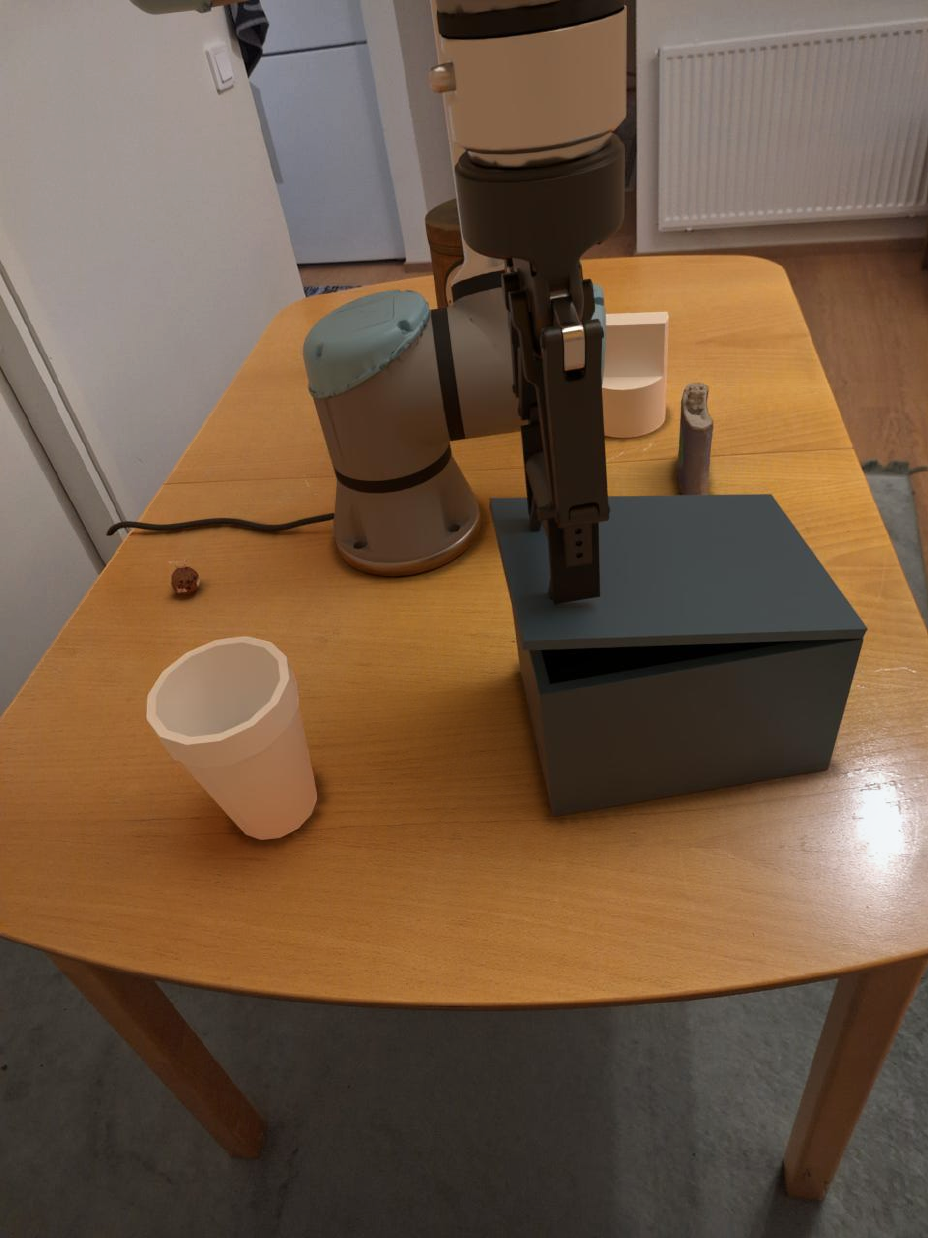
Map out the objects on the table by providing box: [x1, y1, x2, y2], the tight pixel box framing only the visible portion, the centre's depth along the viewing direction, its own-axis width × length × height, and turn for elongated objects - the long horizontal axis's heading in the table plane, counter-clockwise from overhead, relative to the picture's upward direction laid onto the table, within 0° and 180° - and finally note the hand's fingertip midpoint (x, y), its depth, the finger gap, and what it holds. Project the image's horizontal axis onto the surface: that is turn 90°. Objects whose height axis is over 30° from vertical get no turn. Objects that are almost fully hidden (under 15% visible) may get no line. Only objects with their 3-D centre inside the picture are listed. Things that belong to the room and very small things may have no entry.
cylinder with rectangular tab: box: [602, 311, 670, 439], centre depth 91 cm, size 9×9×12 cm
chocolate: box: [168, 558, 201, 595], centre depth 81 cm, size 3×2×4 cm
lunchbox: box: [511, 607, 864, 817], centre depth 58 cm, size 20×15×13 cm
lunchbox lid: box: [488, 451, 869, 650], centre depth 50 cm, size 21×15×6 cm
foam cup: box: [145, 635, 318, 841], centre depth 57 cm, size 10×9×13 cm
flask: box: [675, 382, 714, 495], centre depth 81 cm, size 9×3×11 cm, turn 172°
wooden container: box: [424, 197, 464, 309], centre depth 108 cm, size 15×15×22 cm
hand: (561, 551), depth 50 cm, fingers closed on lunchbox lid, 8 cm apart
